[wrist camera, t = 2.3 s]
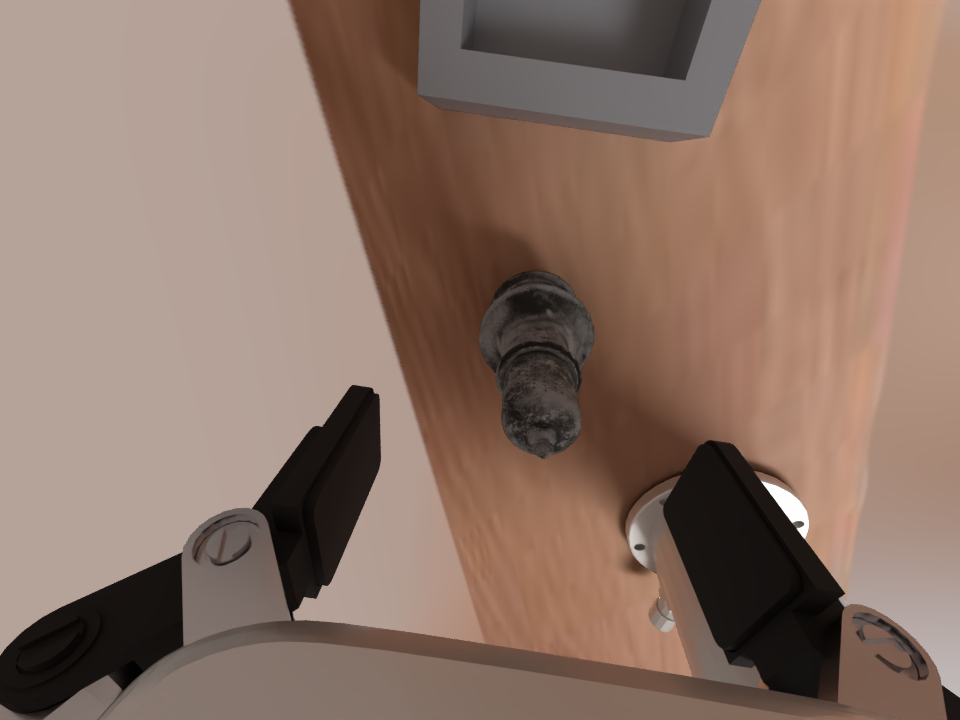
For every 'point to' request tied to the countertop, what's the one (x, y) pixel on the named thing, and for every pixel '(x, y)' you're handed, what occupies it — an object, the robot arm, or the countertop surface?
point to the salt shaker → (538, 359)
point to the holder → (585, 61)
